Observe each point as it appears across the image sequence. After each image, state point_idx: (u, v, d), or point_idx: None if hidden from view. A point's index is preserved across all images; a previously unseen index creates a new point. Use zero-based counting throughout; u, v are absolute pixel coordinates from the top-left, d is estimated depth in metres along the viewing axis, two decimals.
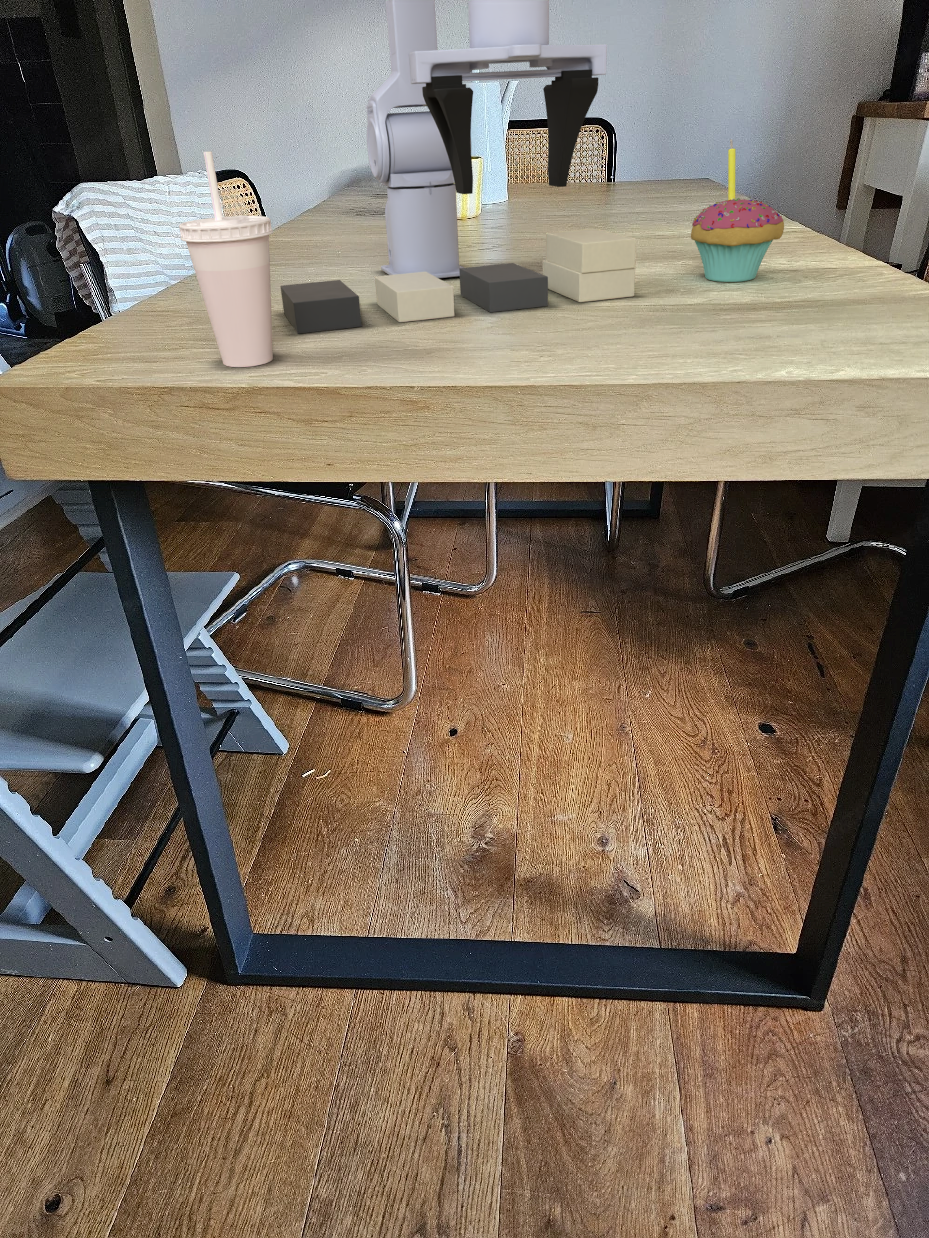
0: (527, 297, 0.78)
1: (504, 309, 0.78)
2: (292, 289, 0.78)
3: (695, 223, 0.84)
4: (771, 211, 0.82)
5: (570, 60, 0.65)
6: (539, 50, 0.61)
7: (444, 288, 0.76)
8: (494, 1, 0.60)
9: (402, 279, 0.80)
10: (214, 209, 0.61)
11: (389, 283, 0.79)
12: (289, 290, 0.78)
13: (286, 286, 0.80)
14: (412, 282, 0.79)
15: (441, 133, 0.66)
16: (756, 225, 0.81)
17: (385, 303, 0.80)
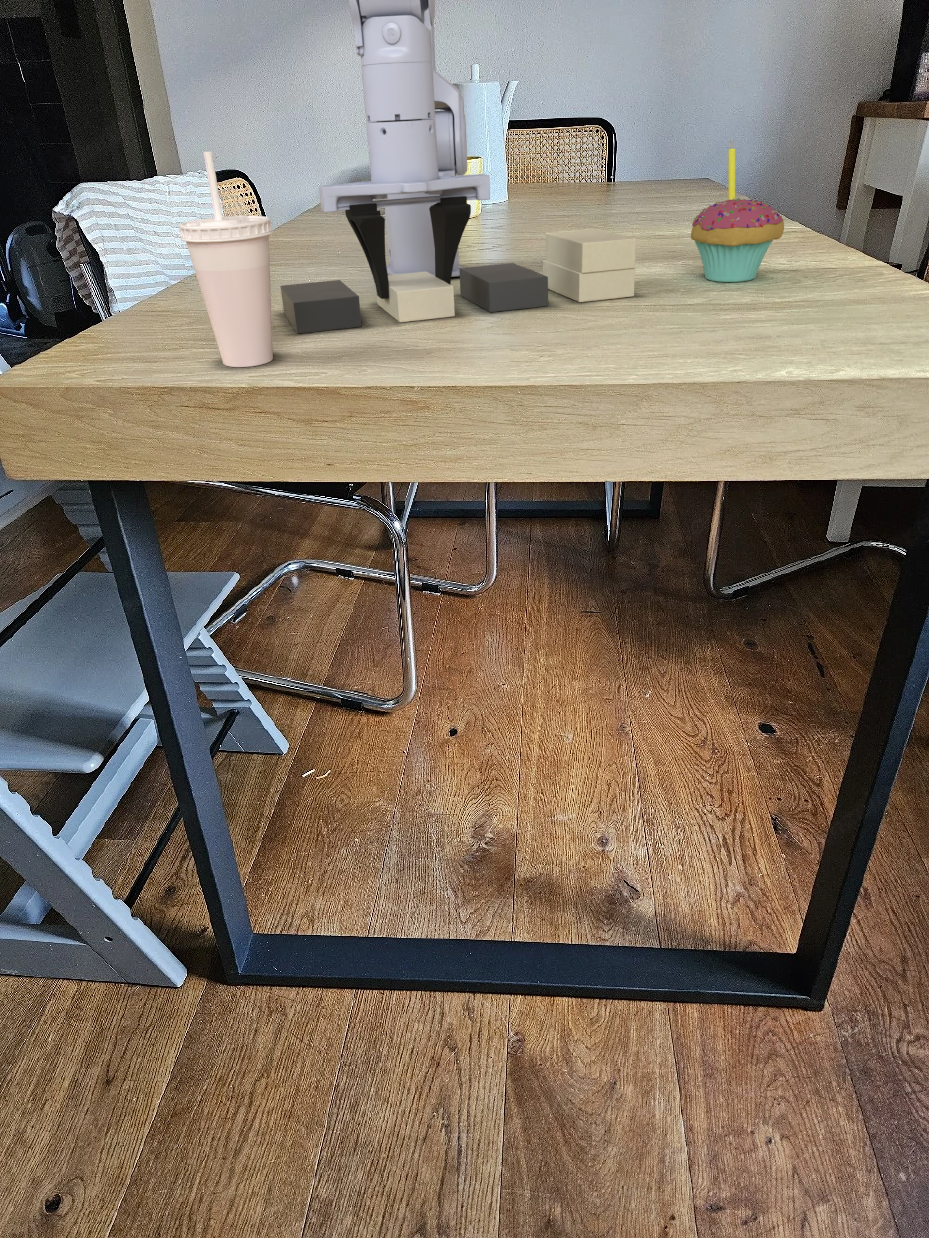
0: (527, 297, 0.78)
1: (504, 309, 0.78)
2: (292, 289, 0.78)
3: (695, 223, 0.84)
4: (771, 211, 0.82)
5: (458, 188, 0.76)
6: (426, 187, 0.72)
7: (444, 288, 0.76)
8: (387, 147, 0.72)
9: (402, 279, 0.80)
10: (214, 209, 0.61)
11: (389, 283, 0.79)
12: (289, 290, 0.78)
13: (286, 286, 0.80)
14: (412, 282, 0.79)
15: (362, 247, 0.78)
16: (756, 225, 0.81)
17: (385, 303, 0.80)
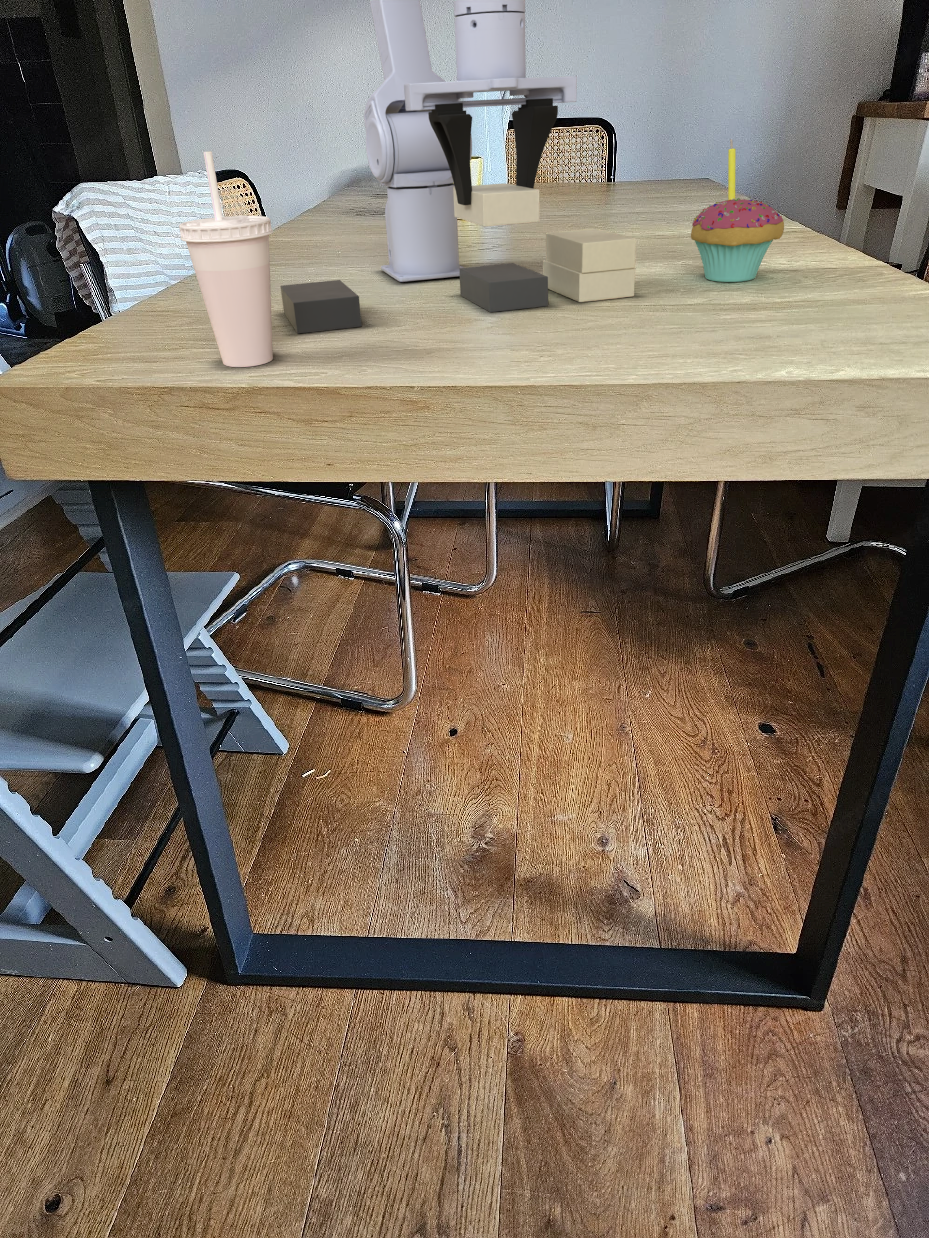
0: (527, 297, 0.78)
1: (504, 309, 0.78)
2: (292, 289, 0.78)
3: (695, 223, 0.84)
4: (771, 211, 0.82)
5: (544, 90, 0.75)
6: (516, 83, 0.71)
7: (530, 191, 0.74)
8: (477, 41, 0.70)
9: (483, 187, 0.79)
10: (214, 209, 0.61)
11: None
12: (289, 290, 0.78)
13: (286, 286, 0.80)
14: (495, 188, 0.77)
15: (445, 152, 0.76)
16: (756, 225, 0.81)
17: (466, 212, 0.78)
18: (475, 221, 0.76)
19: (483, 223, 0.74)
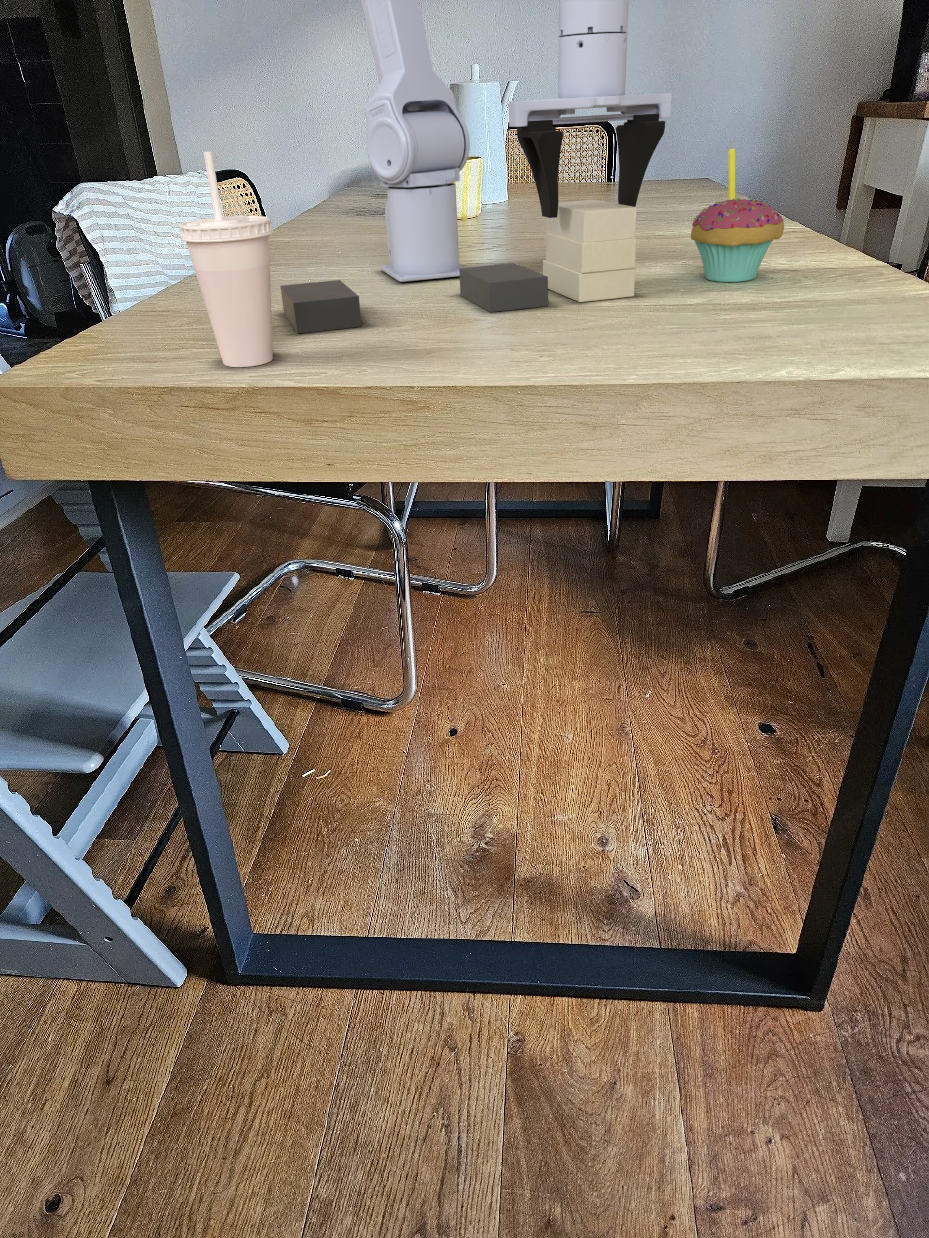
0: (527, 297, 0.78)
1: (504, 309, 0.78)
2: (292, 289, 0.78)
3: (695, 223, 0.84)
4: (771, 211, 0.82)
5: (640, 106, 0.78)
6: (619, 100, 0.74)
7: (628, 209, 0.77)
8: (583, 60, 0.73)
9: (577, 204, 0.82)
10: (214, 209, 0.61)
11: (568, 207, 0.80)
12: (289, 290, 0.78)
13: (286, 286, 0.80)
14: (591, 205, 0.80)
15: (531, 167, 0.79)
16: (756, 225, 0.81)
17: (561, 227, 0.81)
18: (573, 237, 0.79)
19: (583, 239, 0.78)
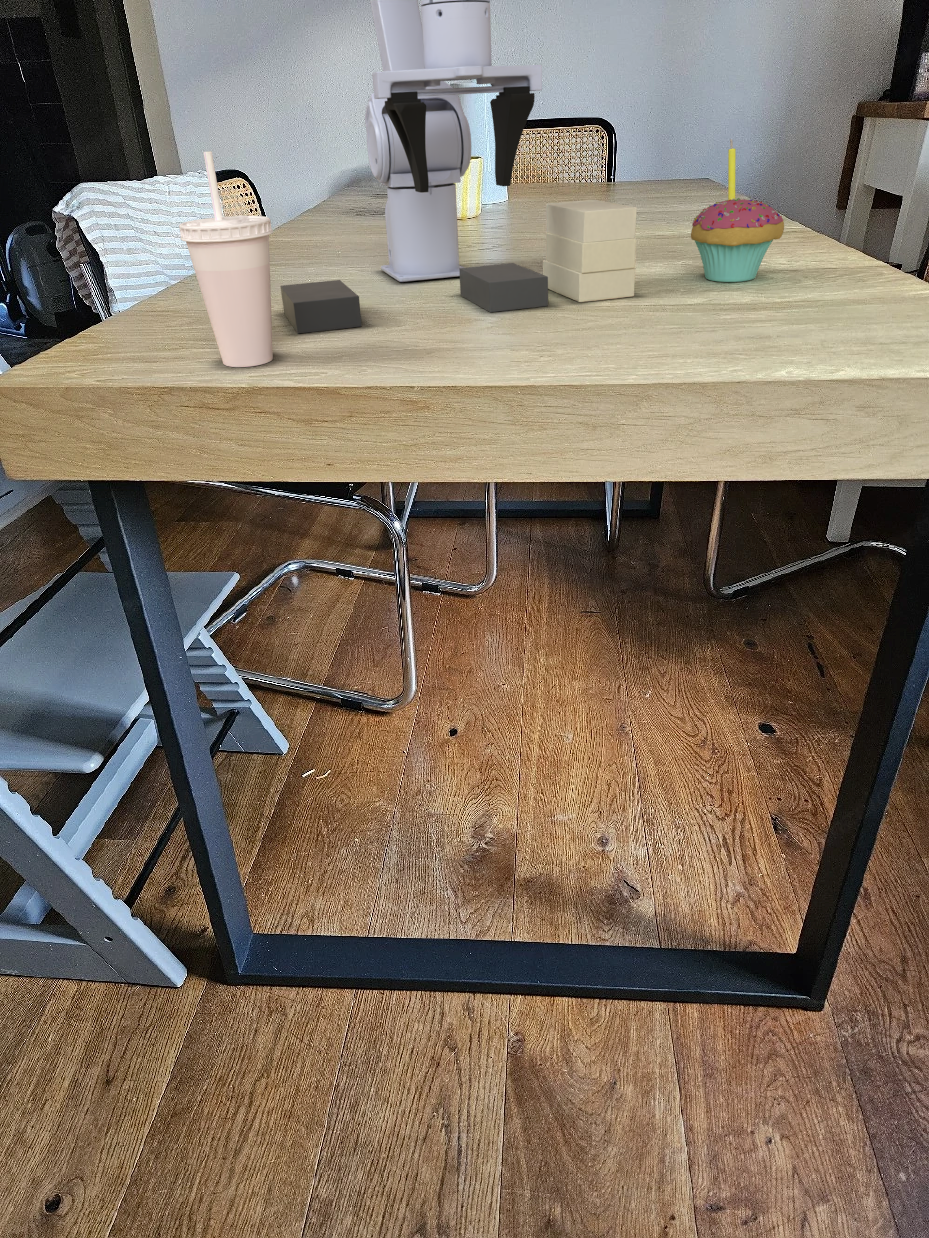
0: (527, 297, 0.78)
1: (504, 309, 0.78)
2: (292, 289, 0.78)
3: (695, 223, 0.84)
4: (771, 211, 0.82)
5: (510, 78, 0.76)
6: (481, 71, 0.72)
7: (628, 209, 0.77)
8: (443, 29, 0.71)
9: (577, 204, 0.82)
10: (214, 209, 0.61)
11: (568, 207, 0.80)
12: (289, 290, 0.78)
13: (286, 286, 0.80)
14: (591, 205, 0.80)
15: (401, 140, 0.78)
16: (756, 225, 0.81)
17: (561, 227, 0.81)
18: (573, 237, 0.79)
19: (583, 239, 0.78)
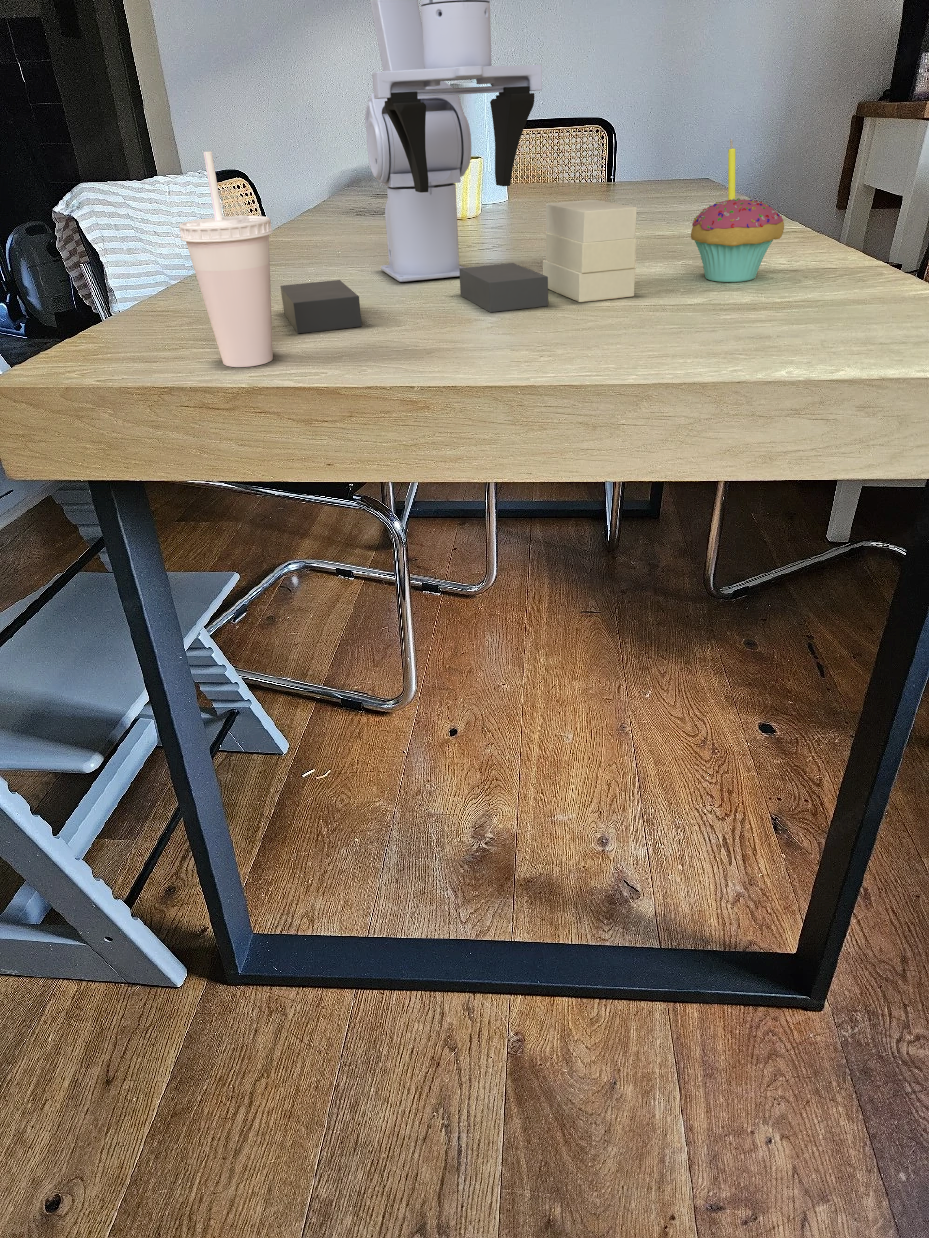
0: (527, 297, 0.78)
1: (504, 309, 0.78)
2: (292, 289, 0.78)
3: (695, 223, 0.84)
4: (771, 211, 0.82)
5: (510, 78, 0.76)
6: (481, 71, 0.72)
7: (628, 209, 0.77)
8: (442, 29, 0.71)
9: (577, 204, 0.82)
10: (214, 209, 0.61)
11: (568, 207, 0.80)
12: (289, 290, 0.78)
13: (286, 286, 0.80)
14: (591, 205, 0.80)
15: (401, 140, 0.78)
16: (756, 225, 0.81)
17: (561, 227, 0.81)
18: (573, 237, 0.79)
19: (583, 239, 0.78)
